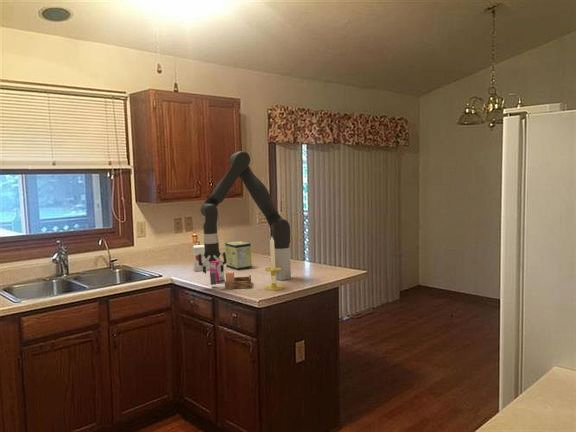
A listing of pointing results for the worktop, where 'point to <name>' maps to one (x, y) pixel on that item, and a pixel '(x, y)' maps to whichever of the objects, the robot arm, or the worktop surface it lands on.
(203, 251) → the supplement box
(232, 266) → the protein box
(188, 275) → the worktop surface
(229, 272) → the lopsided dumbbell
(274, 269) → the candle
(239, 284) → the shelf
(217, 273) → the supplement box
